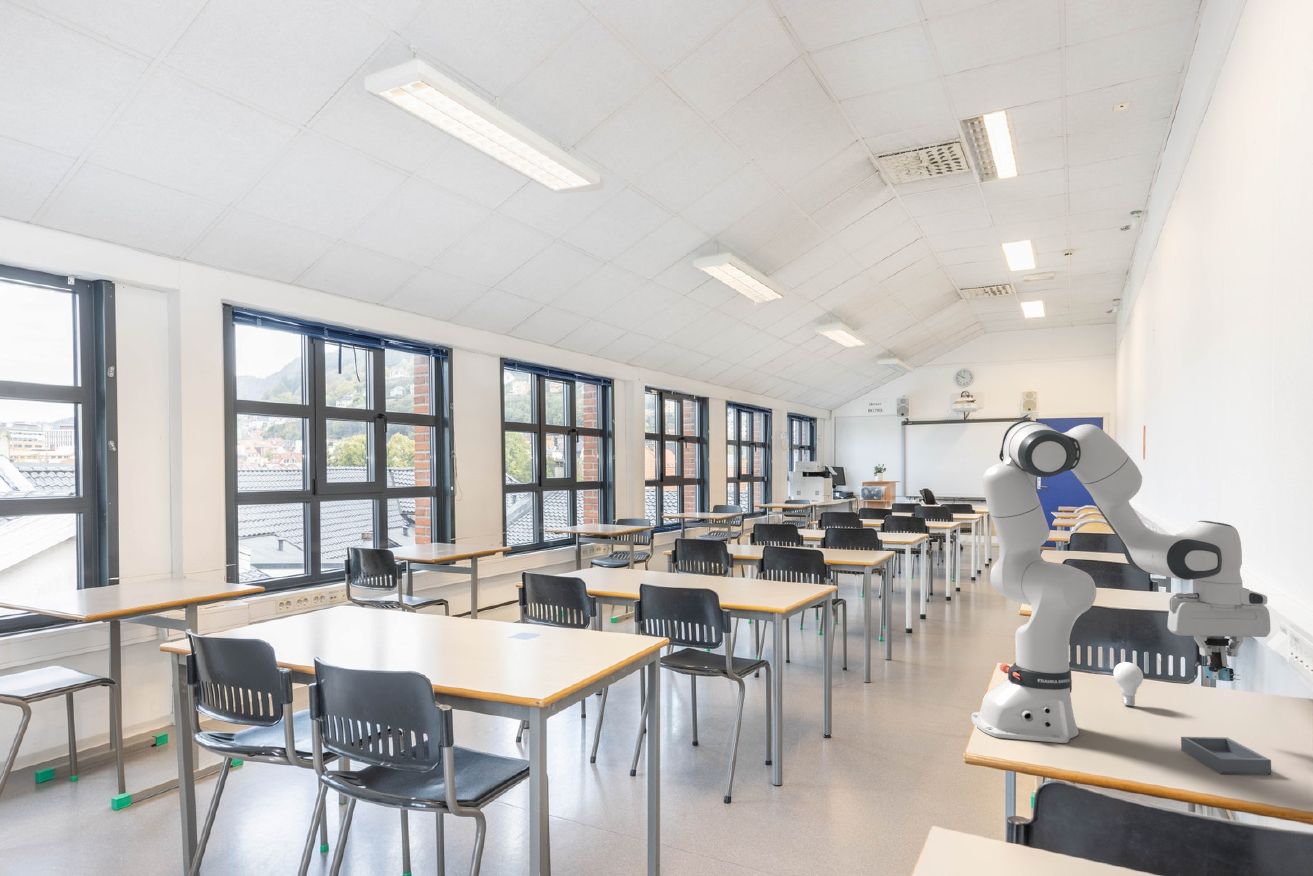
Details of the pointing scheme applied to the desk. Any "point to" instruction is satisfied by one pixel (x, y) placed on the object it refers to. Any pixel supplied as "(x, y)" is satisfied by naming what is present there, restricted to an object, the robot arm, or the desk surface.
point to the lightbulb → (1128, 681)
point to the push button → (1218, 659)
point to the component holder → (1226, 756)
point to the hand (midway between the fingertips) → (1218, 655)
